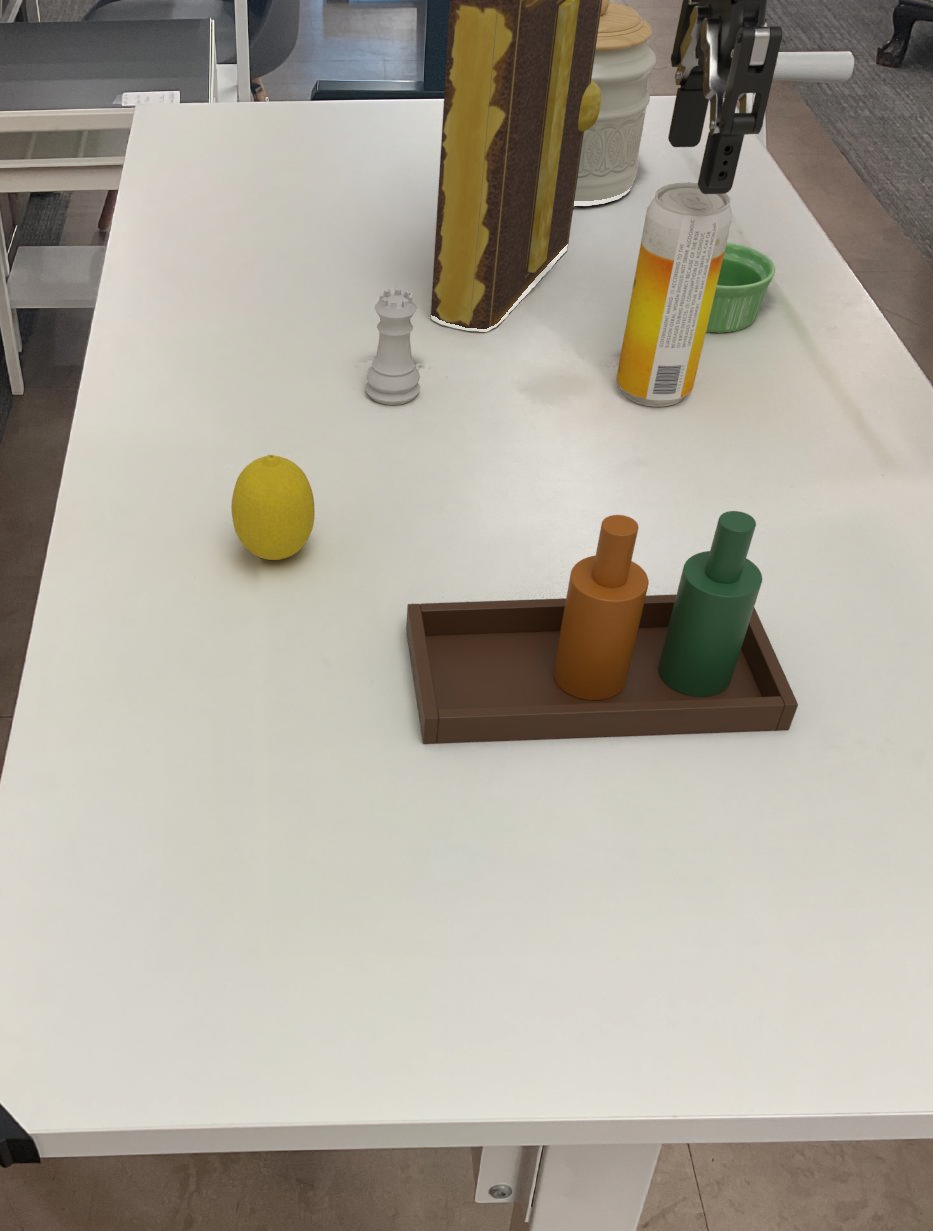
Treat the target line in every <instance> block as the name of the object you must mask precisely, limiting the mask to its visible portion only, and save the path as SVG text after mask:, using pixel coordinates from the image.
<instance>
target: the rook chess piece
mask: <svg viewBox="0 0 933 1231" xmlns="http://www.w3.org/2000/svg"><path fill="white" fill-rule="evenodd" d="M413 297H414V295H413V294H412V292H411V291H409V290H408V289H406V290H404V294H402V288H397V287H395V288H394V293H393V294H391V289H390V288H387V289H384V290H383V293H382V292H381V293H379V299H378V301H377V302H376V303H375V305H374V308H373V309H374V311H375V313H376V314H377V316H378V317H379V322H378V323H377V325H376V329H377V330H378V344H377V350H376V355H375V358H374V359H373V360H372V362H371V366H369V368H368V369H367V373H366V377H365V379H366V381H367V382H366V383H365V386H364V389H365V392H366V393H367V394H368V396H369V397H370V399H372V400H373V401H374V402H376V403H379V404H382V405H385V406H386V405H388V406H398V405H404V404H407V403H409V402H411V401H412V400H414V398H415V397H416V396H418V394H420V390H421V386H420V384H419V382H420V378H421V375H420V372H419V370H418V368H417V367H416V362H415V361H414V358H413V356H412V346H411V332H412V331H413V329H414V326H413V324H412V322H411V319H412V317H413V316H414V315H415V314H416V313H417V310H418V307H417V305H416V303H415V302H414V301H413Z"/></svg>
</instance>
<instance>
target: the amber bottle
mask: <svg viewBox="0 0 933 1231" xmlns="http://www.w3.org/2000/svg"><path fill="white" fill-rule="evenodd" d="M639 529H640V528H639V523H638V522H637V521H636V520H635V519H634V518H632V517H630V516H627V515H623V514H611V515H609V516H606V517H605V518H603V520H602V521H601V525H600V531H599V535H598V541H597V547H596V550H595V555H590V556H587V557H584V558H582V559H580V560H579V561H577V562H576V563H575V564H574V565H573V567H571V568H572V569H571V571H570V574H569V581H568V586H567V592H566V603H565V608H564V614H563V620H562V626H561V632H560V637H559V643H558V649H557V655H556V660H555V666H554V678H555V681H556V683H557V685H558V686H559V687H560V688H561V689H562V690H563V691H565V692H566V693H568V694H569V695H571V696H574V697H576V698H580V699H584V700H592V701H597V700H605V699H609V698H611V697H614V696H615V695H617V694H618V693H620V692H621V691H622V689H623V688H624V686H625V684H626V680H627V675H628V671H629V667H630V662H631V658H632V654H633V649H634V645H635V641H636V636H637V632H638V628H639V623H640V619H641V615H642V610H643V606H644V602H645V597H646V595H647V594H648V588H649V583H650V582H649V580H650V579H649V577H648V574H647V573H646V571H645V570H644V569H643V568H642V566H641V565H639V564H638V563H636V562H634V561H633V556H634V552H635V551H634V550H635V546H636V541H637V537H638V532H639Z"/></svg>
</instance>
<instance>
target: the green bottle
mask: <svg viewBox="0 0 933 1231" xmlns="http://www.w3.org/2000/svg"><path fill="white" fill-rule="evenodd" d="M756 527H757V522H756V519H755V518H754V517H753V516H752V515H750V514H748V513H746V512H744V511H739V510H729V511H725V512H723V513H722V514H720V515H719V517H718V520H717V523H716V527H715V531H714V534H713V539H712V542H711V546H710V550H706V551H702V552H698V553H695V554H692V556H690V557H689V558H688V559H687V560H685V562H684V564H683V567H682V571H681V575H680V580H679V583H678V586H677V591H676V594H677V595H676V599H675V603H674V607H673V610H672V614H671V618H670V622H669V626H668V630H667V634H666V638H665V642H664V646H663V650H662V654H661V658H660V662H659V666H658V671H659V675H660V677H661V679H662V680H663V681H664V683H665V684H667V685H668V686H669V687H670V688H672V689H674V690H675V691H677V692H680V693H682V694H685V695H689V696H696V697H708V696H713V695H716V694H719V693H721V692H723V691H724V690H725V689H726V688H727V687H728V686H729V684H730V682H731V679H732V676H733V673H734V670H735V666H736V663H737V660H738V657H739V654H740V650H741V647H742V644H743V641H744V638H745V635H746V631H747V628H748V625H749V622H750V619H751V615H752V612H753V609H754V607H755V605H756V602H757V599H758V596H759V593H760V589H761V587H762V584H763V575H762V572H761V570H760V568H759V567H758V566H757V565H756V563H754V562H753V561H752V560H750V559H748V558H747V557H748V554H749V550H750V547H751V543H752V540H753V537H754V533H755V530H756Z"/></svg>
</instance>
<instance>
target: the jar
mask: <svg viewBox="0 0 933 1231" xmlns="http://www.w3.org/2000/svg"><path fill="white" fill-rule="evenodd" d="M652 35H653V28H652V26H651V24H650V23H648V22H647V21H646V20H645V19H643V18H642V17H641V16H640V13H639V12H638V11H637V10H636V9H634V8H632V7H630V6H627V5H625V4H621V3H616V2H612V1H611V0H602V7H601V14H600V21H599V28H598V35H597V43H596V50H595V57H594V64H593V71H592V78H591V80H593V81H594V82H595V83H596V84H597V85H598V87H599V88H600V89H601V95H602V100H601V106H600V113H599V116H598V118H597V120H596V123H595V124H594V125H593V126H592V127H590V128H589V129H587V130H586V131H584V136H583V143H582V150H581V157H580V164H579V171H578V179H577V186H576V193H575V200H574V201H594V200H602V199H607V198H611V197H614V196H617V195H620V194H622V193H624V192H625V191H627V190H628V189H629V188H630V187H631V186H632V187H633V185H634V182H635V180H636V178H637V175H638V168H639V153H640V147H641V141H642V136H643V129H644V124H645V118H646V113H647V107H648V105H649V104H650V99H651V95H650V92H649V90H648V79H649V73H651V71H652V70H653V69H654V67H655V66H656V64H657V56H656V54H655V52H654V51H653V49H651V48H650V47H649V46H648V45H647V42H648V40H649V39H651V36H652ZM632 184H633V185H632Z"/></svg>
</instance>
